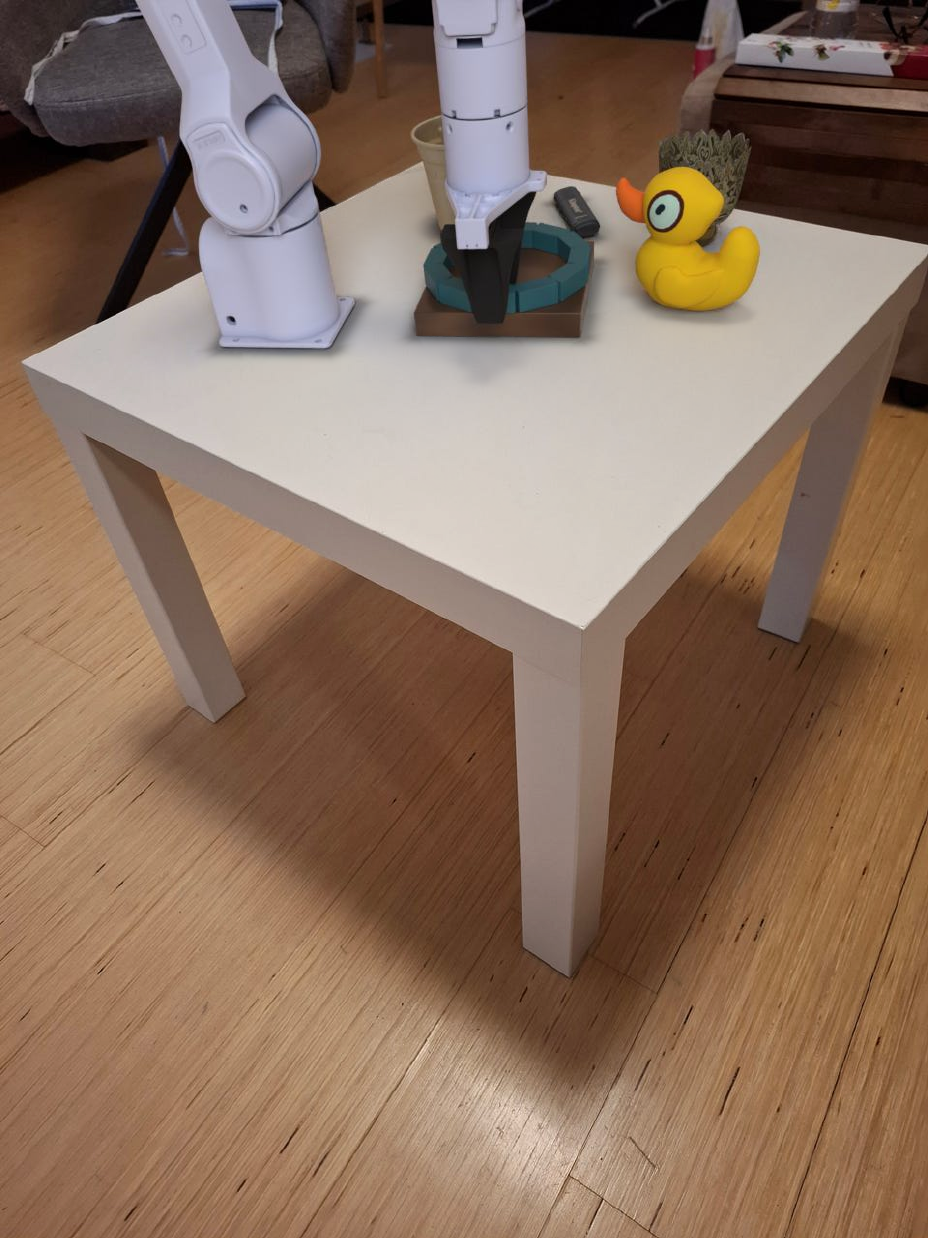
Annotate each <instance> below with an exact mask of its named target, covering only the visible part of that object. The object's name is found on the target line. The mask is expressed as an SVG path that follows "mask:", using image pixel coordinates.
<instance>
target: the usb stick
mask: <svg viewBox="0 0 928 1238" xmlns="http://www.w3.org/2000/svg"><path fill="white" fill-rule="evenodd" d="M553 201H554V202H555V204H556V206H557V207H558V209H559V211H560V213H561V214H562V217H563V219H564V220H565V221H566V223H567V224H568V226H569V227H570V230H571V232H572V231H574V232H575V233H577V234H578V235H579V236H580V237H581V238H590V237H593V236H596V235H598V233H599V232H600V229H601V223H600V222H599V219H598V218H597V217H596V216H595V214H594V212H593V211H592V210H591V208H590V206H589V204H588V203H587V201H586V200H585V199H584V197H583V196H582V194H581V192H580V191H579V190H578V189H577V187H576V186H572V185H571V186H565V187H562V188H560V189H557V190H556V191H555V192H554V193H553Z"/></svg>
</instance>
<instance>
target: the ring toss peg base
mask: <svg viewBox="0 0 928 1238" xmlns="http://www.w3.org/2000/svg"><path fill="white" fill-rule="evenodd" d="M585 241H586V242H587V243H588V244H590V247H591V267H590V272H589V278H588V283H587V284H586V285H585V286H584V287H582V288H581V289H580V290H578V291H577V292H575V293H574V294H572V295H571V296H569V297H568V298H566V299H565V300H563V301H558V303H557V304H553V305H549V306H545V307H541V308H537V309H533V310H529V311H525V312H521V313H520V312H519V311H518V310H516V313H506V315H505V318H504V322H503V323H502V324H478V323H477V322H476V320H475V318H474V315H473V312H471V313H470V312H467V311H464V310H461V309H458V308H455V307H452V306H448V305H445V304H442V303H440V301H437V299H436V298H435V297H434V295H433V294H432V293H431V292H430V290H429V289H428V288H427V286H426V285H425V286H424V287H425V288H424V289H423V292H422V294H421V296H420V298H419V301H418V303H417V305H416V307H415V309H414V311H413V319H414V326H415V333H416V336H418V337H485V338H486V337H490V338H491V337H494V338H495V337H496V338H497V337H499V338H511V337H512V338H515V337H516V338H581V335H582V330H583V323H584V319H585V315H586V308H587V303H588V297H589V292H590V286H591V281H592V276H593V271H594V265H595V241H594V240H585ZM565 264H567V263H566V262H565V261H564V260H563V259H562V258H561V257H560V256H559V255H557V254H553V253H549V252H545V251H541V250H538V249H534V248H521V254H520V262H519V269H518V275H517V280H516V283H515V284H518V283H522V282H526V281H530V280H534V279H538V278H542V277H546V276H548V275H550V274H551V273H553V272H554V271H556V270H558V269H559V268H561V267H562V266H564V265H565ZM449 272H450V273H451V274H452V275H453V276H454V277H457V278H461V277H460V275H459V273H458V271H457V269H456V267H455V266H453V267H451V269H450V271H449Z"/></svg>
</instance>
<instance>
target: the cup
mask: <svg viewBox="0 0 928 1238" xmlns="http://www.w3.org/2000/svg"><path fill="white" fill-rule="evenodd" d="M690 135H691V134H690V131H689V130H686V131H685V132H683V134H682V136H681V139H680V138H678V136H676V135H675V134H673V133H670V134H668V135H667V137H666V139H665V140H663V139H660V141H659V144H658V145H659V146H658V147H659V150H658V174H660V173H662V172H664V171H666V170H669V169H672V168H675V167H689V168H692V169H695V170H697V171H699V172H700V173H702V174H703V175H704V176H705V177H706V178H707V179H708V180H709V181H710V182H711V183H712V184H713V186H714V187H715V188H716V189H717V190H718V191H719V192H720V193H721V194H722V196H723V198H724V205H723V208H722V210H721V212H720V215H719V216H718V217H717V218H716V219H715V220H714V221H713V222H712V224H711V225H710V227H709V228H708V229H707V231H706V232H705V233H704V235H703V236H701V237H700V238H699V239H697V240H695V241H696V242H697V243H698V244H699V245H700V246H701V247H702V246H706V245H709V244H711V243H712V242H713V241H714V240H715V238H716V236H717V235H718V231H719V229H718V225H720V224H722V223H723V222H725V221H726V220H727V219H728V218H729V217H730V216H731V214H732V213H733V211H734V209H735V208H736V205H737V203H738V201H739V197H740V194H741V191H742V187H743V183H744V179H745V174H746V170H747V167H748V162H749V158H750V155H751V150H752V146H750V138H745V133H744V132H739V133H738V134H737V135H735V136H733V137H732V135H731V131H730V130H729V129H728V130H727V131H726V132H725V133H724V134H723V135H722V137H721V140H720V136H719V135H718V134H717V131H716V130H715V129H714V128H711V129H709V131H708V134H706V132H705V131H704V129H703V128H700V129H699V130H698V131H697V132H696V133H695V135H694V136H693V138H692V139H691V136H690Z"/></svg>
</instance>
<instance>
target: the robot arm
mask: <svg viewBox="0 0 928 1238" xmlns="http://www.w3.org/2000/svg"><path fill="white" fill-rule="evenodd" d="M134 1H135V3H136V5H137V6H138V8H139V10H140V12H141V14H142V16H143V19H144V20H145V22H146V24H147V26H148V28H149V30H150V32H151V35H153V38H154V40H155V41H156V43H157V46H158V48H159V50H160V51H161V53H162V55H163V57H164V60H165V61H166V63H167V65H168V67H169V69H170V71H171V73H172V75H173V77H174V79H175V81H176V83H177V84H178V87H179V88H180V91H181V105H180V106H181V107H180V117H179V118H180V119H179V120H180V121H179V138H180V141H181V142H182V144H183V146H184V148H185V150H186V152H187V155H188V156H189V160H190V162H191V167H192V173H193V182H194V187H195V191H196V193H197V196H198V198H199V200H200V202H201V204H202V206H203V208H204V209H205V211H207V213H208V214H209V216H210V217H208V218H207V219H205V221H204V222H203V224H202V226H201V229H200V232H199V238H198V255H199V263H200V268H201V271H202V275H203V278H204V282H205V285H206V289H207V292H208V295H209V299H210V301H211V305H212V309H213V311H214V315H215V318H216V321H217V324H218V328H219V331H220V335H221V337H220V339H219V340H218V344H219V346H220V347H222V348H261V349H262V348H265V349H267V348H269V349H275V348H276V349H328V348H330V347H331V346H332V345H333V343H334V342H335V339H336V337H337V335H338V334H339V332H340V330H341V329H342V327H343V326H344V324H345V322H346V320H347V318H348V316H349V315H350V313H351V311H352V309H353V307H354V306H355V304H356V301H355V298H354V297H352V296H337V292H336V288H335V282H334V278H333V272H332V267H331V263H330V257H329V252H328V246H327V242H326V238H325V237H326V236H325V231H324V226H323V222H322V216H321V212H320V209H319V207H320V206H319V202H318V198H317V196H316V194H315V190H314V184H313V180H314V178H315V177H316V176H317V173H318V171H319V169H320V166H321V160H322V149H321V142H320V138H319V134H318V133H317V130H316V128H315V126H314V125H313V123H312V121H311V120H310V118H309V117H308V116H307V115H306V114H305V113H304V112H303V111H302V110H301V109H300V108H299V107H298V106H297V105H296V104H295V103H294V102H293V101H292V98H290V96H289V94H288V92H287V90H286V89H285V86H284V84H283V82H282V79H281V77H280V76H279V75H278V74H277V73H276V72H274V71H273V70H272V69H270V68H269V67H268V66H266V65H265V64H264V63H262V62H261V61H260V60H259V59H258V58H256V57H255V56H254V55H253V54H252V51H251V49H250V47H249V46H248V45H249V44H248V43H247V41H246V38H245V36H244V34H243V32H242V30H241V28H240V25H239V23H238V21H237V19H236V16H235V14H234V12H233V10H232V8H231V5H230V3H229V1H228V0H134ZM523 1H524V0H431V7H432V16H433V41H434V52H435V62H436V72H437V82H438V83H437V84H438V94H439V103H440V115H441V117H442V127H443V139H444V149H445V160H446V170H447V178H446V179H445V190H446V195H447V197H448V200H449V202H450V204H451V207H452V209H453V211H454V214H455V216H456V218H455V224H445V225H444V227H443V229H442V231H441V230H440V234H439V238H440V242H441V245H442V248H443V250H444V251H445V253H446V254H447V255H448V257H449V258H450V259H451V261H452V262H453V264H454V266H455V267H456V269H457V271H458V273H459V275H460V277H461V280H462V282H463V285H464V288H465V291H466V294H467V297H468V300H469V303H470V306H471V310H472V312H473V315H474V318H475V320H476V322H477V323H478V324H502V323H503V322H504V318H505V315H506V310H507V304H508V295H509V284H515V283H516V280H517V275H518V269H519V262H520V254H521V246H522V238H523V233H524V227H525V223H526V222H527V218H528V215H529V212H530V210H531V207H532V205H533V203H534V201H535V198H536V195H537V192H542V191H544V190H545V189H546V187H547V184H548V173H547V171H546V170H533V169H531V168H530V148H529V147H530V145H529V144H530V143H529V119H528V78H527V49H526V47H527V46H526V45H527V44H526V22H525V18H524V15H523Z"/></svg>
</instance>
